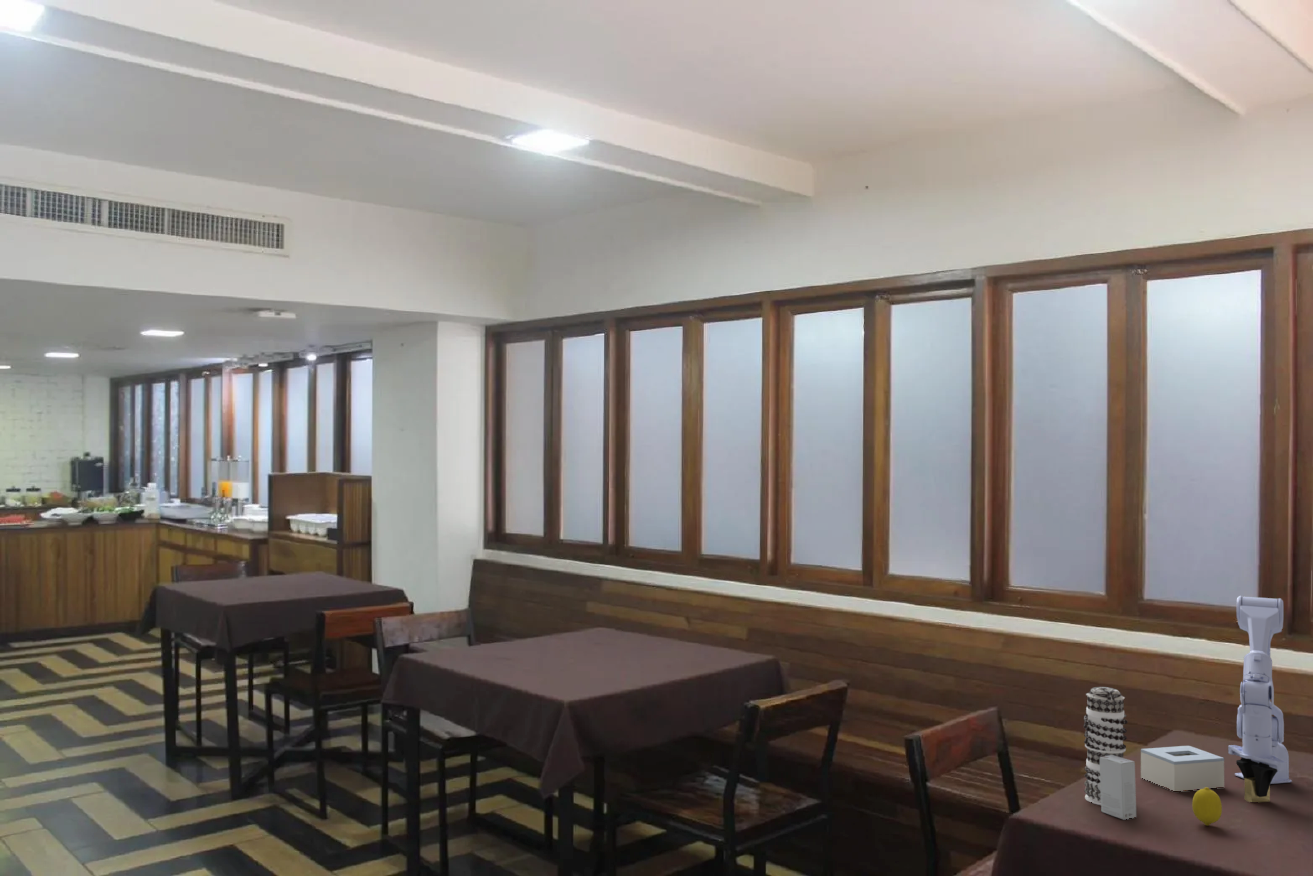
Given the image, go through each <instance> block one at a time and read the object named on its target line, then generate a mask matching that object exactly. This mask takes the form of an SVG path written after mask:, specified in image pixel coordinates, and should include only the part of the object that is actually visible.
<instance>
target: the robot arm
mask: <svg viewBox="0 0 1313 876" xmlns="http://www.w3.org/2000/svg"><path fill="white" fill-rule="evenodd" d="M1236 620H1237V624H1238V626H1239V629H1240V630H1243V631H1244V632H1247V634H1248V639H1249V641H1248V643H1249V652H1248V653H1246V654H1245V655H1244V657H1243V668H1242V669H1243V673H1242V675H1243V676H1242V681H1241V682H1240V684H1239V685H1240V687H1239V694H1240V695H1239V697H1240V698H1239V700H1240V703H1241V704H1239V706H1238V707H1237V715H1236V735H1237V737H1238V738H1239V739H1241V741H1242V742H1241V743H1242V746H1241V745H1240V746H1239V745H1236V744H1233V745H1232V744H1231V745H1228V746H1227V748H1228V750H1227V751H1228V753H1227V754H1229V755H1233V756H1237V757H1240V759H1237V760H1236V761H1235V762H1236V763H1235V764H1236V765H1237V767H1238V768H1239V770H1240V771H1241V772H1235V773H1234V776H1236V777H1238V778H1241V779H1243V780H1244V781H1245V778H1251V777H1255V782H1256V793H1257V796H1258V797H1266V796H1267V793H1268V789H1269V786H1270V787H1271V785H1273V784H1274V785H1275V784H1286V783H1292V782H1293V781H1292V779H1290V768H1289V766H1290V765H1289V764H1290V763H1289V762H1290V757H1289V751H1288V750H1287V748H1286V746H1285V745H1284V744H1283V743H1284V740H1285V739H1284V738H1285V737H1284V735H1285V733H1284V732H1285V723H1284V722H1285V721H1284V713H1283V711H1282V709H1280V708H1279V707H1278V706H1277V705H1275V703H1274V701H1275V695H1274V694H1275V689H1274V688H1275V687H1274V682H1273V659H1272V657H1271V642H1272V638H1273V636H1274V635H1275V634H1279V633H1282V632H1283V630H1282V629H1283V628H1284V600H1283V599H1282V598H1280V597H1279V598H1271V597H1269V598H1268V597H1259V596H1258V597H1257V596H1244V595H1239V596H1237V598H1236Z"/></svg>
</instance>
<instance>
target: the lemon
mask: <svg viewBox="0 0 1313 876" xmlns="http://www.w3.org/2000/svg"><path fill="white" fill-rule="evenodd" d="M1191 804H1192V805H1191V806H1192V807H1191V808H1192V811H1193V814H1194V816H1195V818H1196V819H1198V821H1200V822H1202V823H1203V825H1205V826H1207V827H1208V826H1210V825H1211V824H1214V823H1216V822H1218V821H1219V820H1220V818H1221V816H1222V813H1223V806H1222V805H1223V804H1222V801H1221V798H1220V796H1219V794H1217V793H1216V791H1214V790H1213V789H1209V788H1208V787H1205V788H1204V789H1200V790H1196V792H1195V793H1194V795H1193V798H1192V803H1191Z"/></svg>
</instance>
